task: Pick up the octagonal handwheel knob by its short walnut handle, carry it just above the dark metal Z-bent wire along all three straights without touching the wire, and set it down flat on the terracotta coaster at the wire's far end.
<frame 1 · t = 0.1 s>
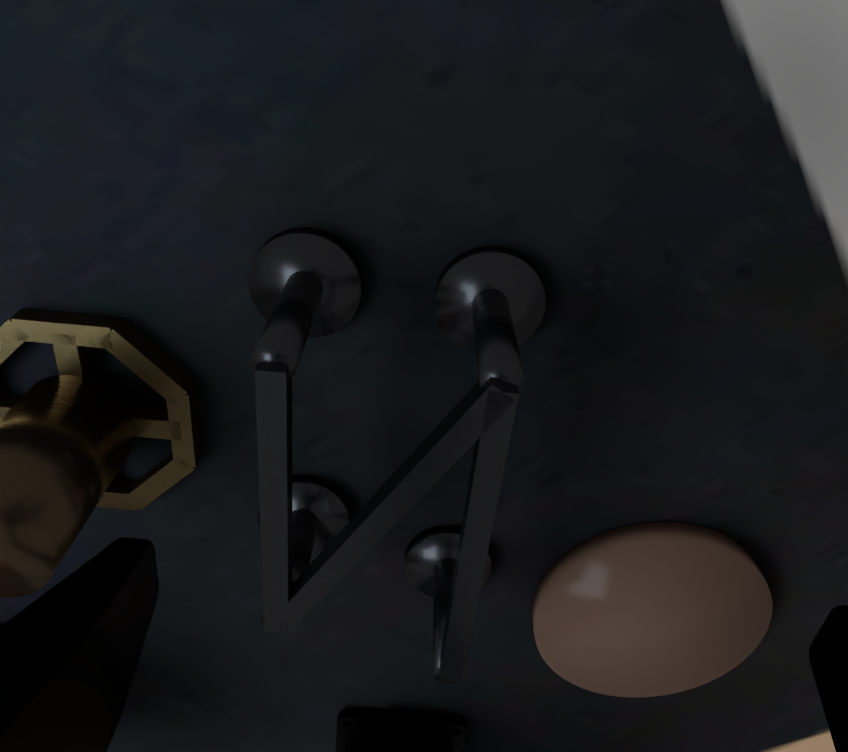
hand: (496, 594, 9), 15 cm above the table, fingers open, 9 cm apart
coaster: (645, 606, 30), on the table
octagonal handwheel knob: (89, 410, 25), on the table
buzz wire: (386, 436, 26), on the table
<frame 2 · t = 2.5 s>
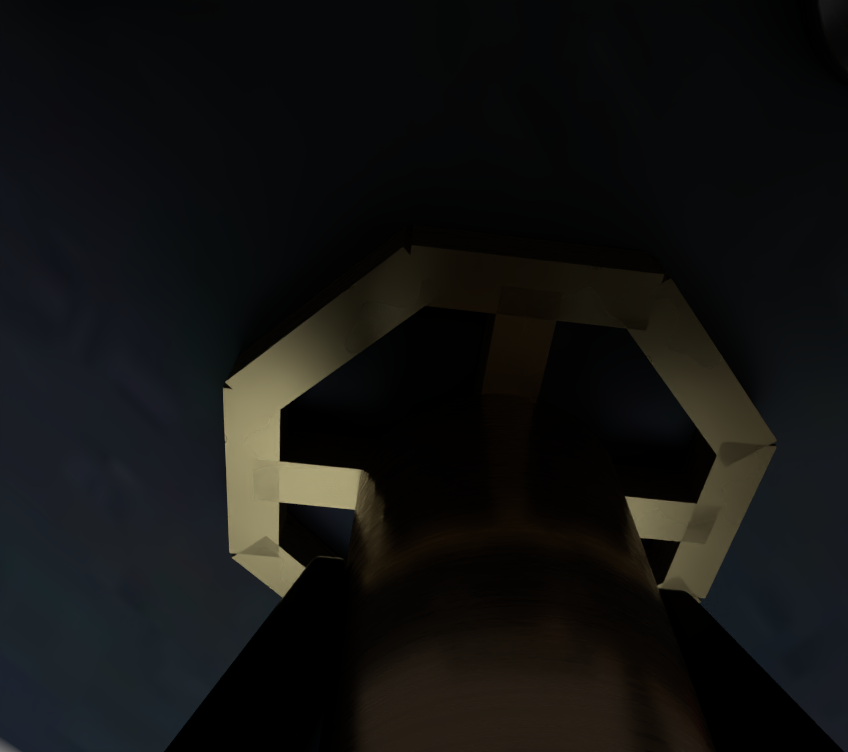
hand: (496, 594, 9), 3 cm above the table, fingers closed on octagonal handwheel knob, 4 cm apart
octagonal handwheel knob: (483, 470, 11), on the table, touching gripper
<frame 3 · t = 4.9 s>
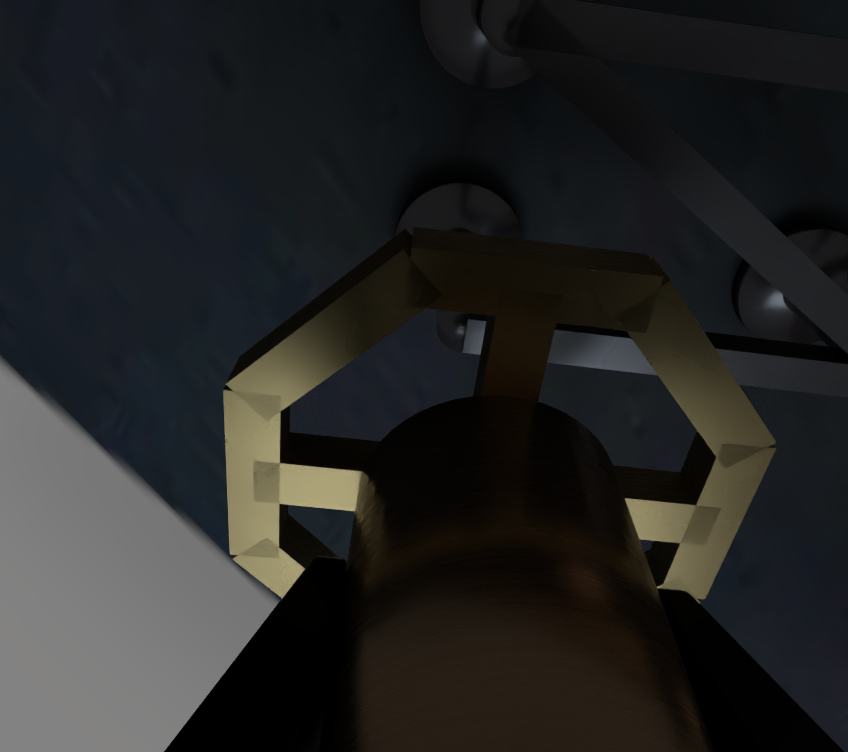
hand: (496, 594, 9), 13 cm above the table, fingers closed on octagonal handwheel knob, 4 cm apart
octagonal handwheel knob: (483, 471, 11), point 10 cm above the table, touching gripper
buzz wire: (695, 162, 18), on the table
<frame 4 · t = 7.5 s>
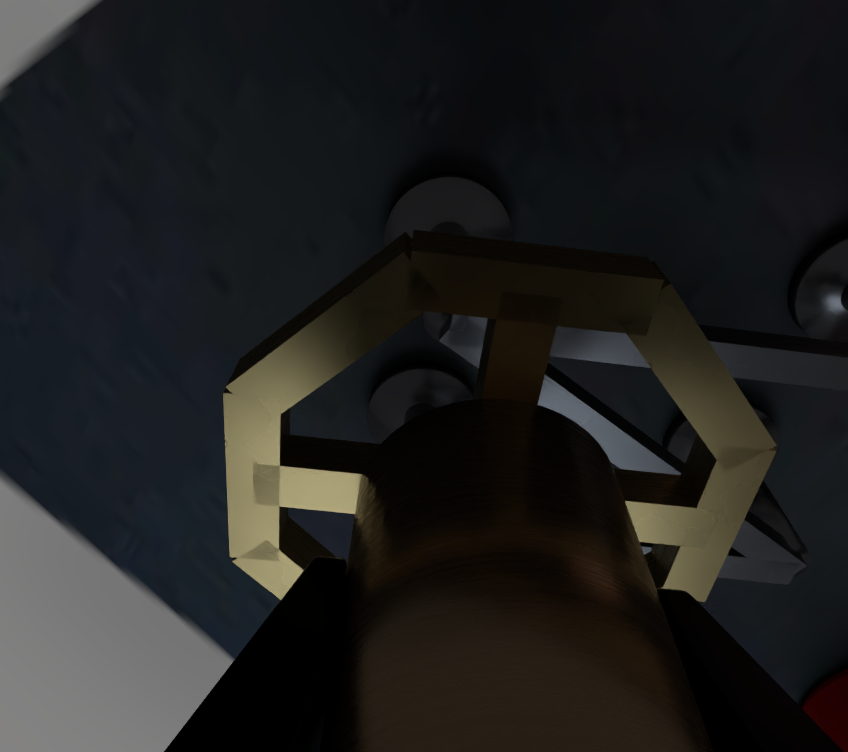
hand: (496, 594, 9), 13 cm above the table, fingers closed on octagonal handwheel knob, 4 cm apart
octagonal handwheel knob: (483, 474, 11), point 10 cm above the table, touching gripper
buzz wire: (624, 350, 21), on the table
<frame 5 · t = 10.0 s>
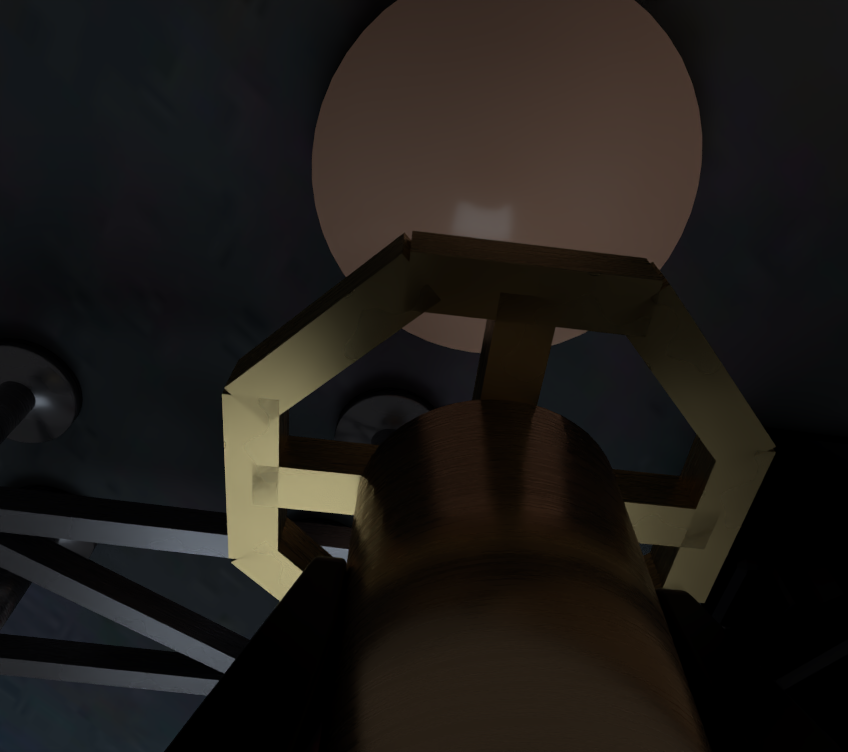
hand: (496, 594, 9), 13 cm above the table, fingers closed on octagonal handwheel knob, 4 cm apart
coaster: (501, 174, 19), on the table
octagonal handwheel knob: (482, 475, 11), point 10 cm above the table, touching gripper
buzz wire: (212, 480, 24), on the table
when the fingers open (5 cm above the table, at t = 12.4 s): octagonal handwheel knob drops 2 cm, resting on coaster.
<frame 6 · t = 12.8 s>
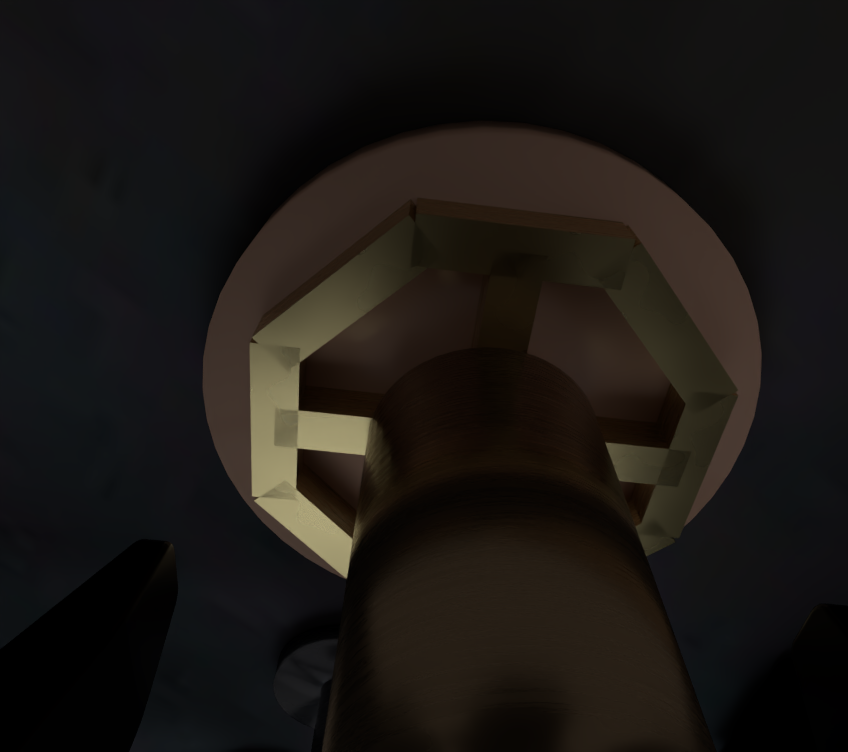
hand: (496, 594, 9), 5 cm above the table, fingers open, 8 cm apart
coaster: (475, 388, 13), on the table
octagonal handwheel knob: (479, 422, 13), point 1 cm above the table, touching coaster
buzz wire: (126, 720, 19), on the table
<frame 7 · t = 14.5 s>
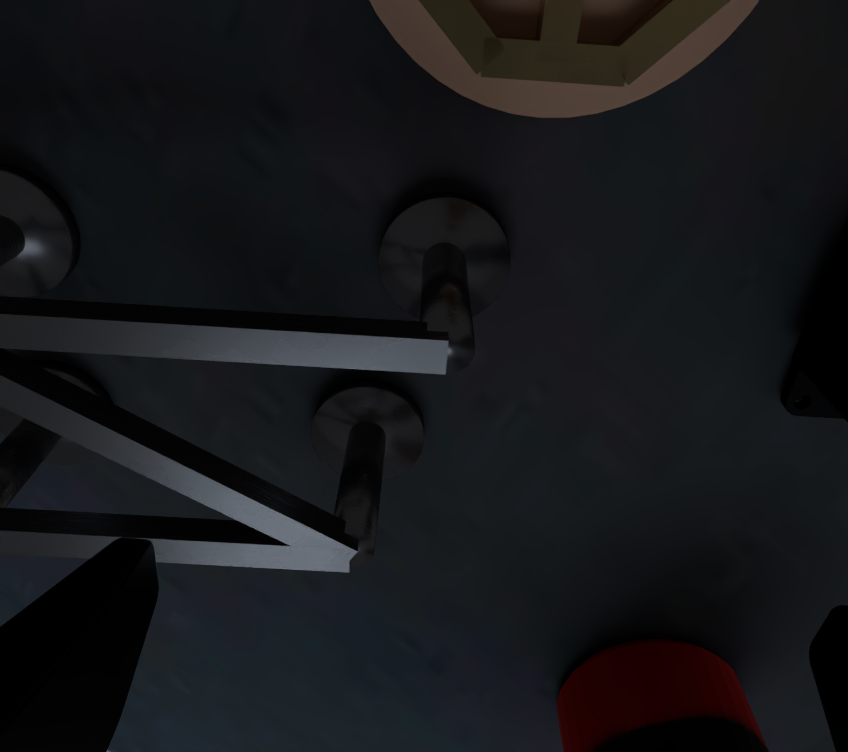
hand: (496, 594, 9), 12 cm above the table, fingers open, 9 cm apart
soda can: (643, 688, 29), on the table
buzz wire: (238, 337, 21), on the table
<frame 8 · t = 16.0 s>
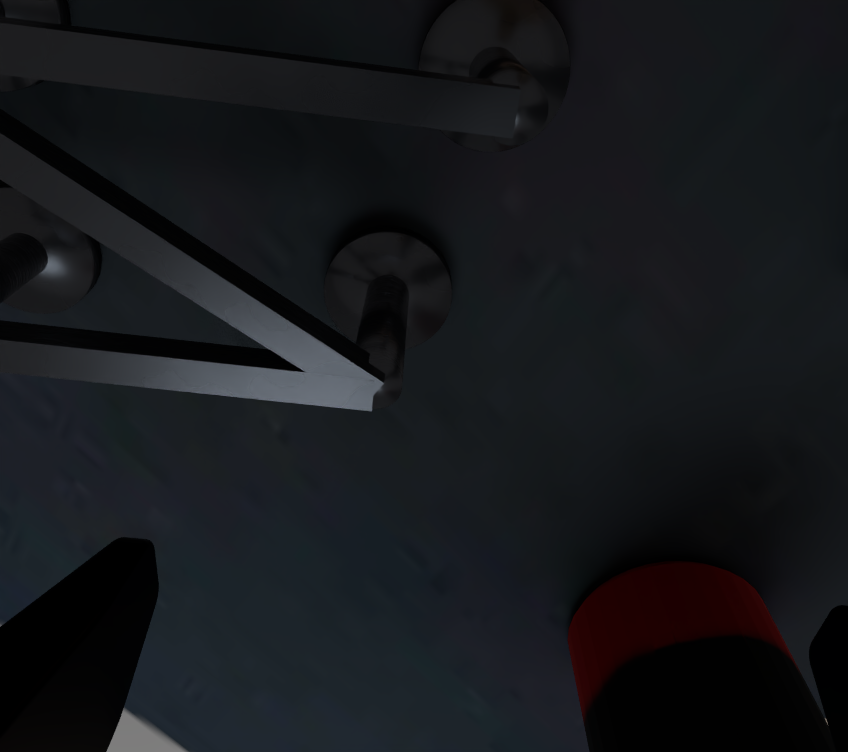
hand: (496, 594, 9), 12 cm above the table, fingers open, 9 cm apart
soda can: (661, 620, 27), on the table
buzz wire: (248, 164, 18), on the table
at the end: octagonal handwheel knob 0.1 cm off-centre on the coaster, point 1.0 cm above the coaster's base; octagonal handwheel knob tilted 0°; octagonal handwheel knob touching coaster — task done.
